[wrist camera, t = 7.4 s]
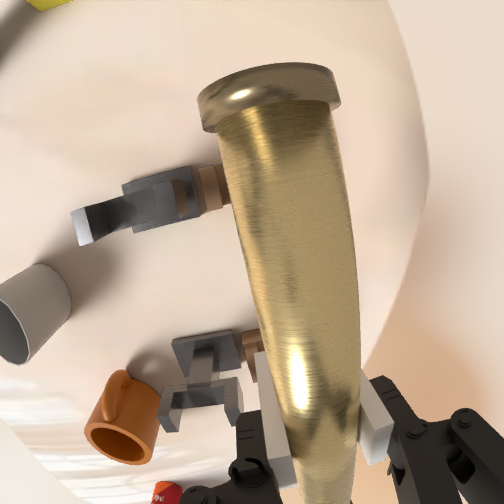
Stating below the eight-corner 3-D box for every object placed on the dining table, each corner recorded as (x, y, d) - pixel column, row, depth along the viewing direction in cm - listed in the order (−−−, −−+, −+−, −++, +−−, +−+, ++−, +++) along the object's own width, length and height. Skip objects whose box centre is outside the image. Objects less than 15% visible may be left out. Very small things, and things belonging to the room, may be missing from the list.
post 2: (171, 339, 31) (150, 406, 20) (232, 328, 31) (234, 397, 21) (184, 372, 33) (171, 440, 22) (242, 362, 33) (248, 432, 22)
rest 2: (241, 332, 32) (243, 357, 27) (310, 316, 32) (322, 339, 27) (247, 357, 33) (250, 383, 28) (313, 341, 33) (324, 365, 28)
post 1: (123, 185, 26) (66, 193, 16) (191, 165, 27) (166, 159, 16) (135, 231, 28) (85, 264, 17) (203, 214, 28) (185, 239, 17)
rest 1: (201, 170, 27) (194, 169, 22) (281, 153, 27) (291, 149, 22) (209, 206, 28) (204, 212, 23) (289, 188, 28) (300, 191, 23)
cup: (66, 266, 28) (16, 299, 19) (77, 327, 30) (39, 372, 21) (19, 262, 27) (-30, 289, 18) (31, 319, 30) (-9, 355, 20)
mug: (168, 369, 32) (155, 421, 24) (162, 425, 35) (152, 471, 27) (103, 350, 31) (75, 395, 23) (106, 409, 34) (88, 451, 25)
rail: (203, 113, 8) (186, 75, 5) (312, 95, 8) (353, 55, 5) (298, 501, 14) (306, 538, 11) (345, 488, 15) (357, 524, 11)
